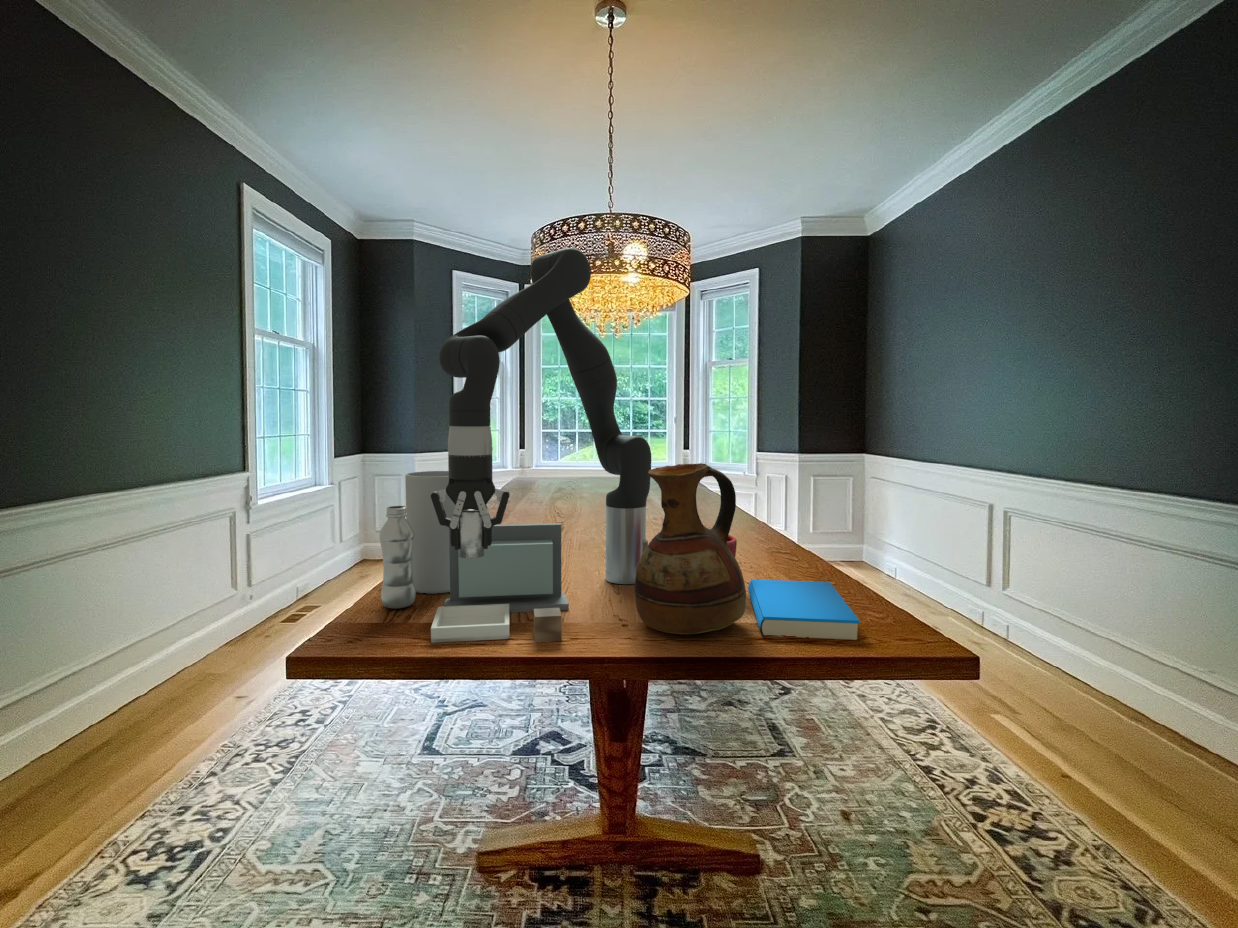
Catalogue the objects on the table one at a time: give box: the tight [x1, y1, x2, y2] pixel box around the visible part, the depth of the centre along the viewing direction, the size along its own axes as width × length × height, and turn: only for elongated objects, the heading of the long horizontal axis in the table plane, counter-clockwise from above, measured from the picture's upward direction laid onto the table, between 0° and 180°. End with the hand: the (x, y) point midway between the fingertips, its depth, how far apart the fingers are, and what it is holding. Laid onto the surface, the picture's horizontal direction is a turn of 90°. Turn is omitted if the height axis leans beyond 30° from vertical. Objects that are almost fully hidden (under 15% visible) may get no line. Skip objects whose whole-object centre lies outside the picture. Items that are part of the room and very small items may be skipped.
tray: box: [430, 604, 510, 644], centre depth 117 cm, size 13×12×2 cm
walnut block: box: [533, 608, 563, 643], centre depth 113 cm, size 4×4×4 cm
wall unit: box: [442, 522, 570, 613], centre depth 130 cm, size 24×7×16 cm, turn 100°
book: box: [747, 578, 861, 641], centre depth 126 cm, size 17×4×25 cm
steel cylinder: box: [458, 509, 484, 558], centre depth 116 cm, size 4×4×8 cm
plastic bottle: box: [379, 505, 417, 610], centre depth 129 cm, size 6×7×20 cm
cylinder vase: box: [404, 470, 459, 595], centre depth 143 cm, size 12×12×25 cm
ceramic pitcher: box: [634, 463, 747, 635], centre depth 119 cm, size 20×20×30 cm
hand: (471, 547), depth 116 cm, fingers closed on steel cylinder, 4 cm apart
